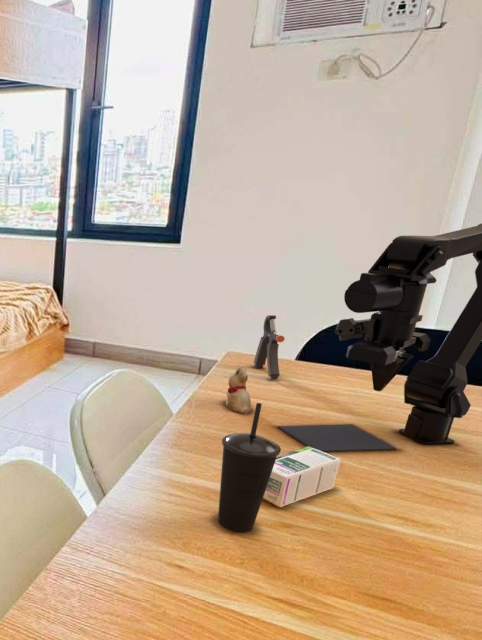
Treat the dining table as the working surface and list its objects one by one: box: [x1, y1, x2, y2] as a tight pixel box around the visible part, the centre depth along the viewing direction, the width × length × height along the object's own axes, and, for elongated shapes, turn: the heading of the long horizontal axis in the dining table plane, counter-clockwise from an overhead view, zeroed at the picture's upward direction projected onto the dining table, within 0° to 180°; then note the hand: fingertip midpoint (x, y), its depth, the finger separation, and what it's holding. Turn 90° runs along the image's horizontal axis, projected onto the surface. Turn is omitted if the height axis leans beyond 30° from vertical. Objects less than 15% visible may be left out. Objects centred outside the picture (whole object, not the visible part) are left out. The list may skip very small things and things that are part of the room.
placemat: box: [277, 423, 397, 453], centre depth 126 cm, size 16×12×1 cm
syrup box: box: [262, 446, 342, 508], centre depth 105 cm, size 6×6×14 cm
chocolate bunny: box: [225, 365, 252, 415], centre depth 141 cm, size 6×8×10 cm
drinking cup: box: [217, 402, 282, 533], centre depth 94 cm, size 8×8×20 cm
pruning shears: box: [253, 314, 285, 380], centre depth 162 cm, size 2×12×15 cm, turn 171°
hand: (377, 390), depth 117 cm, fingers closed
